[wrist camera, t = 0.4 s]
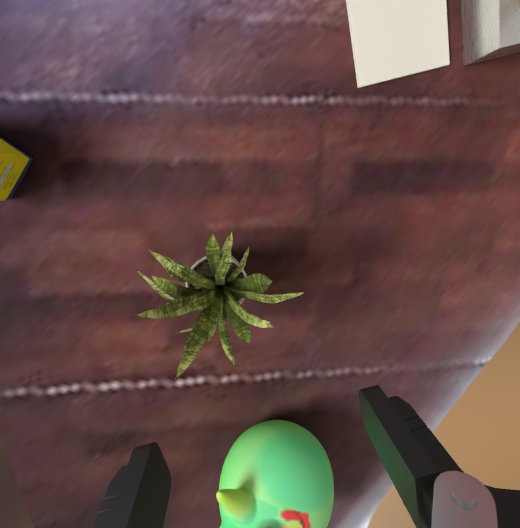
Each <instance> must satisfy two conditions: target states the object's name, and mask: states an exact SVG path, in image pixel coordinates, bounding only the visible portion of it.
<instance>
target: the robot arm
mask: <svg viewBox="0 0 520 528" xmlns="http://www.w3.org/2000/svg"><path fill="white" fill-rule="evenodd" d="M359 398H360V404H361V410H362V416H363V422H364V425H365V428H366V431H367V434H368V436H369V438H370V440H371V442H372V444H373V446H374V448H375V450H376V452H377V453H378V455H379V457H380V459H381V461H382V463H383V465H384V467H385V469H386V470H387V472H388V474H389V476H390V478H391V480H392V482H393V484H394V486H395V488H396V489H397V491H398V493H399V495H400V497H401V499H402V501H403V503H404V505H405V507H406V508H407V510H408V512H409V514H410V516H411V518H412V519H413V522H414V524H415V525H416V527H417V528H520V490H510V489H498V488H493V487H489V486H486V485H484V484H482V483H481V482H480V481H479V480H477V479H476V478H474V477H472V476H470V475H469V474H466V473H464V472H463V471H462V470H461V469H460V468H459V466H458V465H457V464H456V463H455V461H454V460H453V459H452V457H451V456H450V455H449V454H448V452H447V451H446V450H445V449H444V447H443V446H442V445H441V443H440V442H439V441H438V440H437V438H436V437H435V436H434V435H433V433H432V432H431V431H430V429H429V428H427V426H426V424H425V423H424V422H423V421H422V419H420V418H419V415H418V414H417V413H416V412H415V410H414V409H413V408H412V407H411V405H410V404H408V403H407V402H405V401H404V400H402V399H401V398H399V397H398V396H394V397H390V398H387V396H386V395H385V393H384V392H383V391H382V389H381V388H380V387H379V386H378V385H376V386H372V387H368V388H364V389H360V390H359ZM170 490H171V476H170V471H169V468H168V466H167V464H166V461H165V459H164V457H163V454H162V452H161V450H160V447H159V445H158V444H157V443H156V442H153V443H150V444H146V445H142V446H138V447H135V448H134V450H133V452H132V455H131V457H130V460H129V463H128V465H126V466H122V467H121V468H120V470H119V471H118V472H117V474H116V475H115V477H114V478H113V479H112V481H111V482H110V485H109V487H108V490H107V492H106V495H105V497H104V501H103V502H102V505H101V507H100V510H99V514H98V515H97V517H96V520H95V522H94V525H93V527H92V528H163V525H164V520H165V515H166V510H167V505H168V500H169V495H170Z"/></svg>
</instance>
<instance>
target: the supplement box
mask: <svg viewBox="0 0 520 528" xmlns="http://www.w3.org/2000/svg"><path fill="white" fill-rule="evenodd" d="M32 161H33V159H32V158H31V157H30V156H28V155H27V154H25V153H24V152H22V151H21V150H19V149H18V148H16V147H15V146H13V145H12V144H10V143H9V142H7V141H6V140H4V139H3V138H1V137H0V200H9V199H11V198H12V196H13V194H14V192H15V190H16V189H17V187H18V185H19V183H20V182H21V180H22V178H23V176H24V175H25V173H26V171H27V169H28V168H29V166H30V164H31V162H32Z"/></svg>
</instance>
